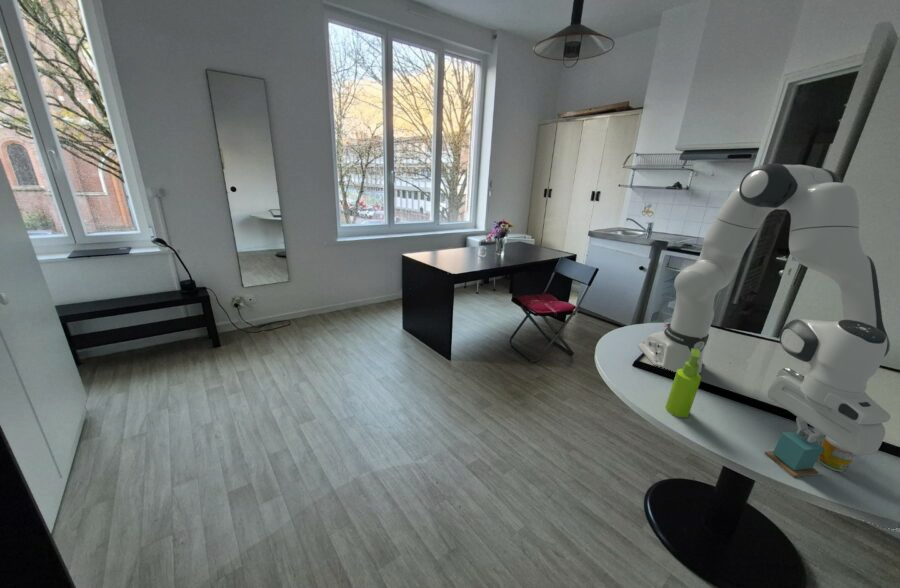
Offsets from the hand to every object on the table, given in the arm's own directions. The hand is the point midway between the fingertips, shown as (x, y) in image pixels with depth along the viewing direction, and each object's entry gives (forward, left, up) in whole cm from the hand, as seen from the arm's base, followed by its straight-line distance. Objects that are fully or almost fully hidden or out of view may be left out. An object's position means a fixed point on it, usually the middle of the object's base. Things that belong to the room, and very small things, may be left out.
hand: (805, 437), depth 81 cm
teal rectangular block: (0, 0, -7) cm, 7 cm away
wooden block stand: (0, 0, -8) cm, 8 cm away
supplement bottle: (+1, +10, -9) cm, 13 cm away
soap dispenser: (-21, -14, -9) cm, 27 cm away
